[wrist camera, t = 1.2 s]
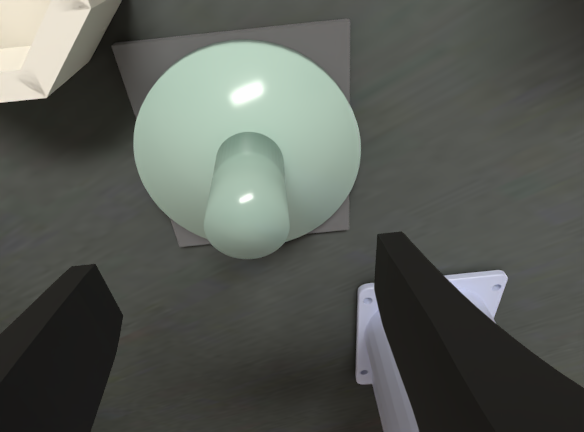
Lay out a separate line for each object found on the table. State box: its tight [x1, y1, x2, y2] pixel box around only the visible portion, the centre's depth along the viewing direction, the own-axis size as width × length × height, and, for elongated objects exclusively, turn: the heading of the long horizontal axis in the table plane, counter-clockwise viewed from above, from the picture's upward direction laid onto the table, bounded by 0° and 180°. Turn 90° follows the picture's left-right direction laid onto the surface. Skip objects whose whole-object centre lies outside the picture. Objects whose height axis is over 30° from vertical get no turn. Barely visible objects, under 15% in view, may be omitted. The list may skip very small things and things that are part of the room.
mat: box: [111, 18, 350, 247], centre depth 16 cm, size 9×8×1 cm
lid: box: [134, 39, 361, 259], centre depth 14 cm, size 9×9×5 cm
